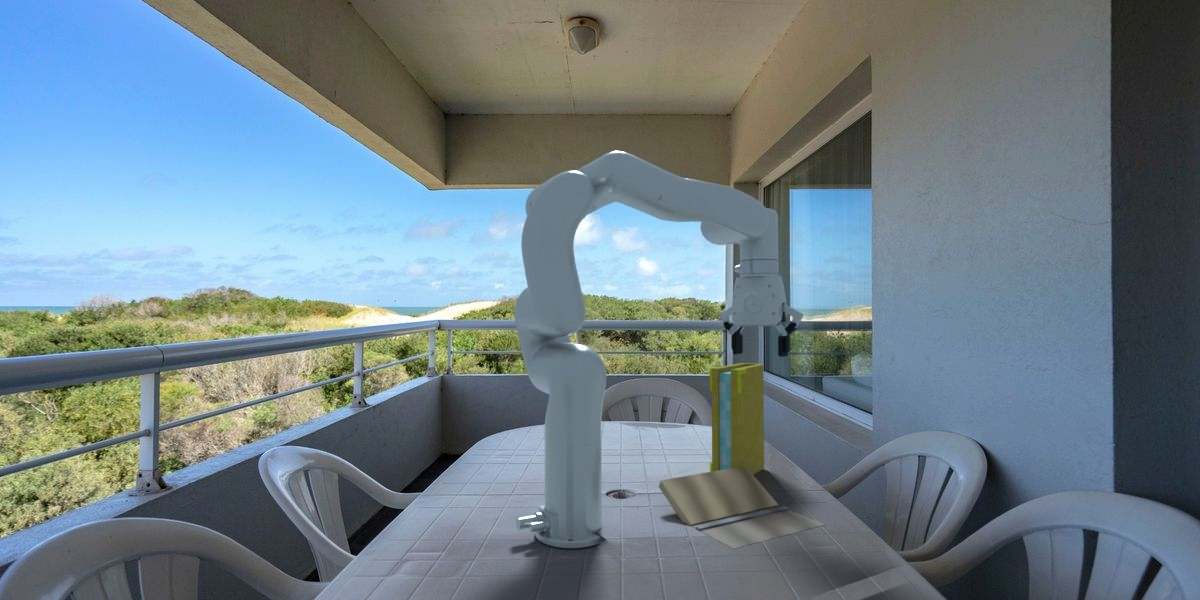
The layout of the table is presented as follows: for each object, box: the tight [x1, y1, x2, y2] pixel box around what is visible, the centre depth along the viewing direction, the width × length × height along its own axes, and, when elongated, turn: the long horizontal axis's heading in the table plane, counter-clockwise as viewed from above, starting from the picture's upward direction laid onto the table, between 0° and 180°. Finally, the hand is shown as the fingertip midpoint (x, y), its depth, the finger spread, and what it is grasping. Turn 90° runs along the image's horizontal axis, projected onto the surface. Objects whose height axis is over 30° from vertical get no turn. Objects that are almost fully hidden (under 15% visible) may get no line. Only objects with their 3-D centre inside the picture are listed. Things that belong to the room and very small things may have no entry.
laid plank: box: [691, 505, 826, 550], centre depth 93 cm, size 20×10×2 cm, turn 118°
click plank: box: [658, 466, 779, 527], centre depth 101 cm, size 20×10×2 cm, turn 118°
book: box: [709, 362, 765, 476], centre depth 124 cm, size 17×7×25 cm, turn 143°
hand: (759, 355), depth 112 cm, fingers open, 9 cm apart
